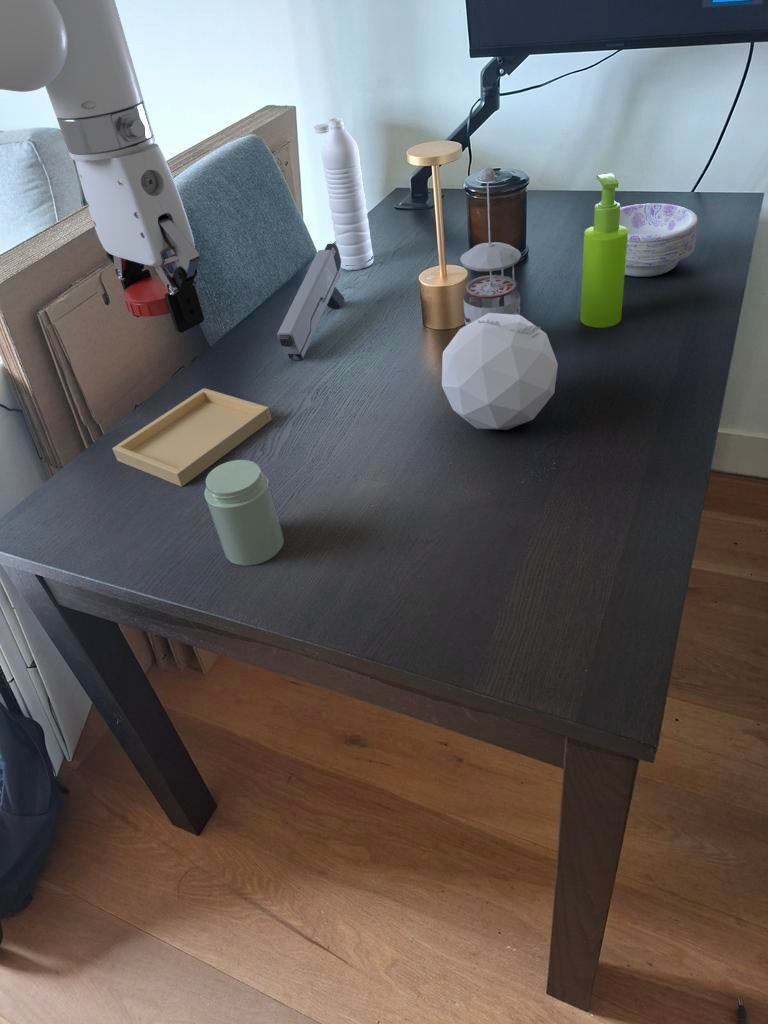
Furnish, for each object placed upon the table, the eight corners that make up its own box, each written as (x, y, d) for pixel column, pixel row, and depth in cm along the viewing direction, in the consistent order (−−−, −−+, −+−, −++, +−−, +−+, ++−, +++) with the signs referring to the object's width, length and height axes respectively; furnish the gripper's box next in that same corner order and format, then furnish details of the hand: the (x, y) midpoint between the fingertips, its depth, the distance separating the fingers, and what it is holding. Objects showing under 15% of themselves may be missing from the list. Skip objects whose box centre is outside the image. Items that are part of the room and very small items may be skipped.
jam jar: (255, 573, 79) (233, 503, 73) (211, 553, 82) (186, 484, 76) (296, 536, 83) (278, 466, 77) (252, 518, 86) (232, 450, 80)
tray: (181, 487, 93) (177, 473, 91) (117, 460, 99) (111, 448, 98) (272, 419, 102) (268, 407, 101) (207, 399, 109) (203, 387, 108)
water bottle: (351, 256, 146) (329, 113, 131) (380, 258, 143) (361, 113, 128) (326, 274, 141) (301, 127, 125) (356, 277, 138) (334, 127, 122)
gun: (351, 286, 131) (338, 235, 124) (308, 387, 117) (290, 336, 109) (338, 286, 132) (324, 235, 124) (293, 386, 118) (274, 335, 110)
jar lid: (178, 282, 81) (174, 268, 80) (209, 298, 76) (205, 283, 75) (117, 305, 78) (112, 290, 77) (145, 323, 73) (140, 307, 72)
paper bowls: (594, 286, 123) (597, 237, 118) (596, 250, 134) (599, 204, 129) (695, 284, 119) (702, 233, 114) (688, 247, 130) (695, 200, 125)
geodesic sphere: (595, 351, 94) (524, 262, 89) (586, 413, 84) (505, 316, 79) (500, 410, 103) (431, 332, 98) (482, 472, 93) (404, 388, 88)
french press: (448, 361, 109) (435, 179, 93) (478, 325, 117) (471, 152, 101) (513, 369, 105) (511, 181, 89) (540, 332, 113) (542, 152, 97)
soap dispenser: (615, 305, 116) (625, 168, 104) (624, 325, 111) (636, 183, 98) (576, 309, 117) (581, 173, 104) (583, 329, 112) (590, 188, 99)
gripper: (200, 125, 64) (250, 321, 75) (92, 115, 74) (150, 290, 85) (126, 150, 60) (190, 353, 71) (22, 136, 70) (92, 316, 81)
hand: (168, 317), depth 78 cm, fingers closed on jar lid, 7 cm apart
